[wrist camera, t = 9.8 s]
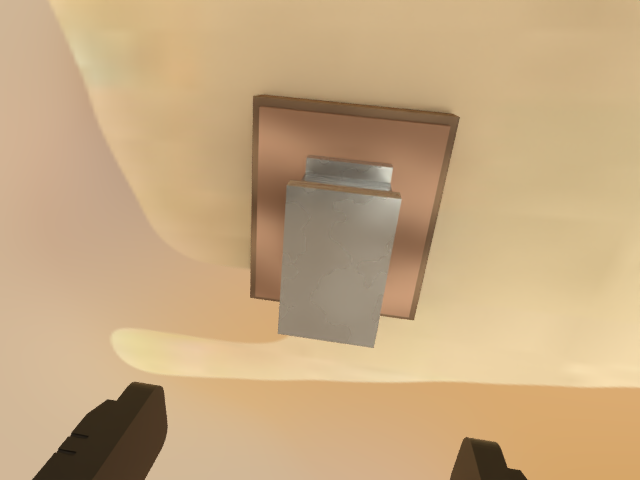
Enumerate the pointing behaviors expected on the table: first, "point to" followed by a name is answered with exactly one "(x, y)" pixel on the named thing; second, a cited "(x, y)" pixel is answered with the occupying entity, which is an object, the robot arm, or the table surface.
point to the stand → (357, 144)
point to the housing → (337, 250)
